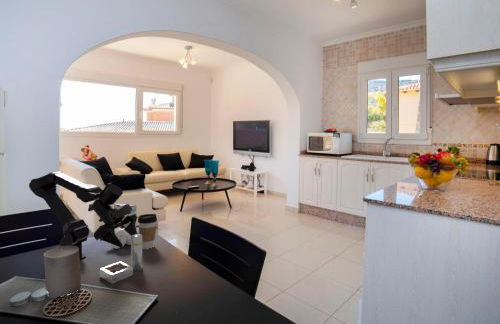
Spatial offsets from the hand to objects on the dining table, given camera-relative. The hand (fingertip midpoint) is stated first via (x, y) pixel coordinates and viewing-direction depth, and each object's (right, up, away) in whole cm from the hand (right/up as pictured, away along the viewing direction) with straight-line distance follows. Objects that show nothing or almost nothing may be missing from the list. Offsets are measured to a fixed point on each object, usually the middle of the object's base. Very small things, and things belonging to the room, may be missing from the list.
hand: (130, 242), depth 113 cm
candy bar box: (-17, -7, +36) cm, 40 cm away
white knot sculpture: (-14, -8, +23) cm, 28 cm away
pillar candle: (-15, -11, -17) cm, 25 cm away
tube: (+3, -10, 0) cm, 10 cm away
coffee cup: (-1, -8, +22) cm, 24 cm away
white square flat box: (-2, -11, -6) cm, 12 cm away
